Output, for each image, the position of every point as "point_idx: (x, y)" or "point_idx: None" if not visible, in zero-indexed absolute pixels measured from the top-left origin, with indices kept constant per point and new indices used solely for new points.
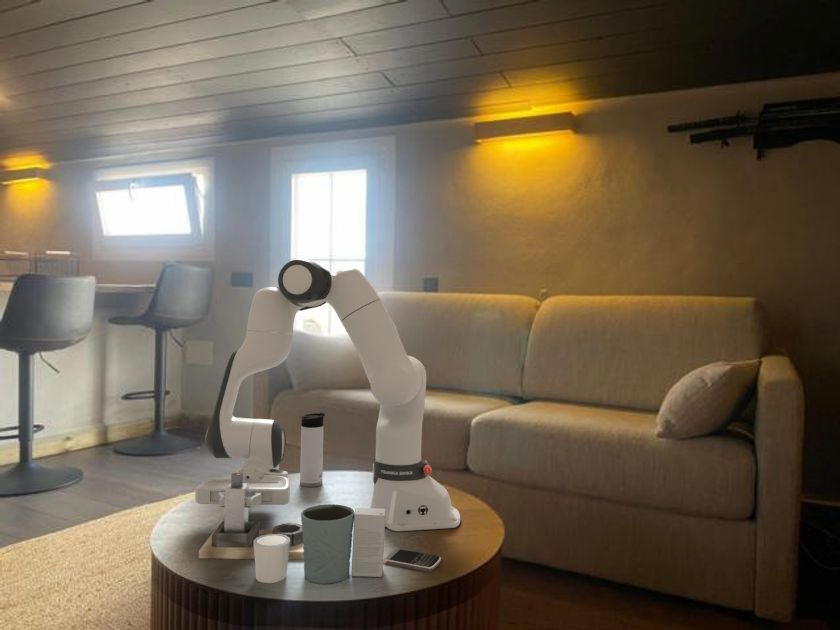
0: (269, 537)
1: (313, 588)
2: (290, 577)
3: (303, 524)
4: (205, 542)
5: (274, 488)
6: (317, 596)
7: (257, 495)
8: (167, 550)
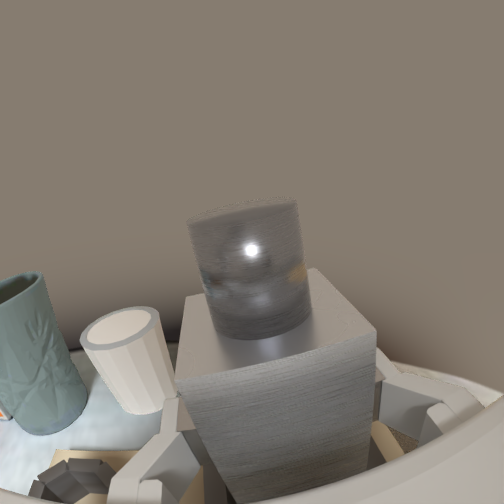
0: (122, 335)
1: (83, 371)
2: (112, 394)
3: (47, 291)
4: (400, 448)
5: (3, 498)
6: (84, 356)
7: (136, 454)
8: (485, 404)
